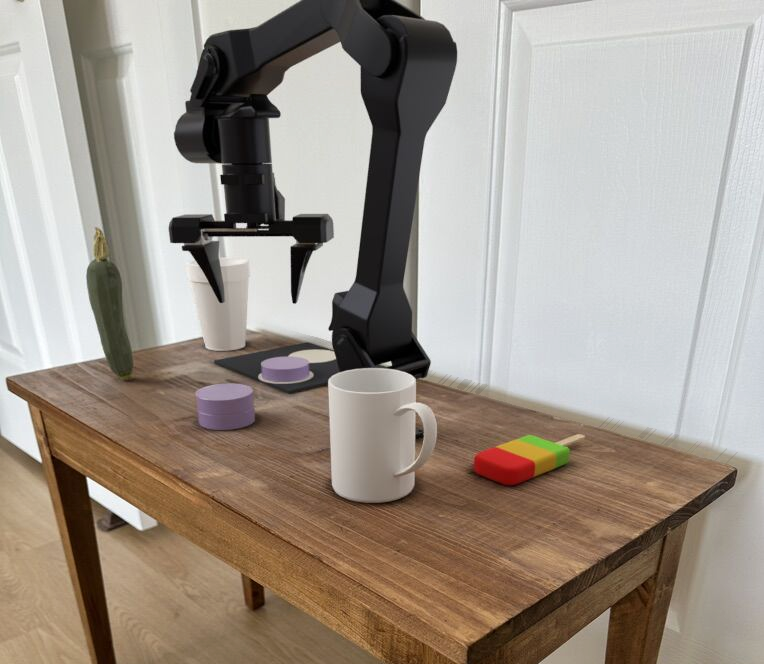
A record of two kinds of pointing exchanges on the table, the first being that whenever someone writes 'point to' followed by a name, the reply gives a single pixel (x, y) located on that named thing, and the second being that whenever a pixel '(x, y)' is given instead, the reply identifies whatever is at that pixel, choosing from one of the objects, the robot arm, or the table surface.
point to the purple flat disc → (226, 420)
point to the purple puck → (224, 399)
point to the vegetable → (109, 308)
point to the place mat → (318, 357)
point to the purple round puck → (285, 369)
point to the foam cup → (222, 304)
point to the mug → (376, 434)
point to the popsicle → (523, 459)
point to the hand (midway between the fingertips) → (258, 302)
